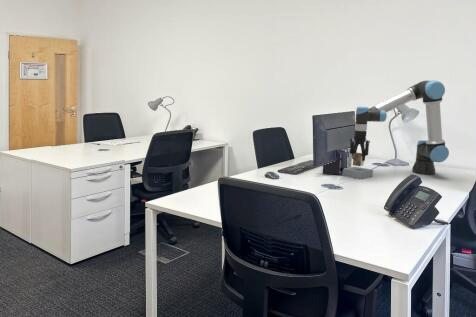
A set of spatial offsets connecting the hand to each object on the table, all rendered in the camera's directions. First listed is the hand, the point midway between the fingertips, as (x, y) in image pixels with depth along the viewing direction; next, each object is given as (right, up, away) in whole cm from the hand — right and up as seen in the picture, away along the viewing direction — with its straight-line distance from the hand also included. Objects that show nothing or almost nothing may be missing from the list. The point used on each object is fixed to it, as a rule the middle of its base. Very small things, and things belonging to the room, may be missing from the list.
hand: (358, 164), depth 276 cm
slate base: (0, -8, +1) cm, 8 cm away
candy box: (-3, -4, +24) cm, 24 cm away
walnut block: (0, 0, 0) cm, 0 cm away
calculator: (-17, -7, +6) cm, 19 cm away
